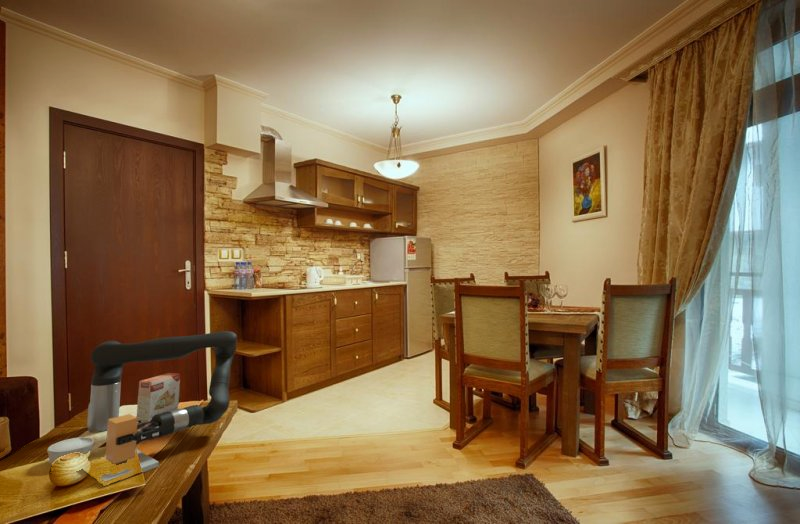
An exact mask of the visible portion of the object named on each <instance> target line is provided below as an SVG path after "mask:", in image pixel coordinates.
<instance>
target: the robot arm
mask: <svg viewBox="0 0 800 524" xmlns="http://www.w3.org/2000/svg"><path fill="white" fill-rule="evenodd" d="M237 346H238V336H237V334H236V333H235V332H234V331H229V330H223V331H222V330H221V331H215V332H209V333H204V334H195V335H194V334H193V335H185V336H184V335H183V336H169V337H160V338H155V339H150V340H145V341H141V342H135V343H121V342H119V341H116V340H107V341H104V342H102V343H100V344H99V345H96V346H95V348H94V349H93V350H92V351H91V353H90V356H89V357H90V361H91V362H92V364H93V365H94V370H93V374H92V376H91V384H90V398H89V400H90V402H89V403H88V407H87V408H88V409H87V421H86V422H87V424H86V429H87V430H88V432H105V431H107V425H108V419H111V418H115V417H119V416H120V403H121V388H122V387H121V386H122V376H123V372H124V371H123V370H124V364H129V363H135V362H154V361H155V362H157V361H158V362H159V361H169V360H170V361H171V360H177V359H178V360H179V359H182V358H184V357H186V356H188V355H191V354H192V353H195V352H197V351H198V350H202V349H207V348H213V350H214V358H215V359H214V360H215V362H214V363H215V364H214V369H213V370H212V371H213V372H212V373H211V374H212V375H211V377H210V383H209V388H208V393H209V397H211V398H210V401H209V402H208V403H207V405H205V406H203V407H202V406H201V405H198V404H195V405H189V406H186V407H181V408H178V409H175V410H171V411H167V412H164V413H160V414H156V415H154V416H153V418H152V420H151V421H150V422H147V421H146V422H142V423H141V420H138V421H137V432H134V433H132V435H131V434H128V435H124V436H121V437H118V438H117V439H116V445H121V444H124V443H128V442H131V441H132V442H135V441H136V444H137V443H143V442H146V441H150V440H154V439H158V438H163V437H165V436H169V435H171V434H175V433H178V432H181V431H183V430H186V429H188V428H191V427H195V426H198V425H209V424H213V423H216V422H217V421H219V420H220V419H221V418H222V417H223V416H224V414H225V413H226V412H227V411H228V409H229V406H230V393H229V388H230V380H231V366H232V364H233V363H232V362H233V359H234V357H235V354H236V352H237V348H238V347H237Z"/></svg>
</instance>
